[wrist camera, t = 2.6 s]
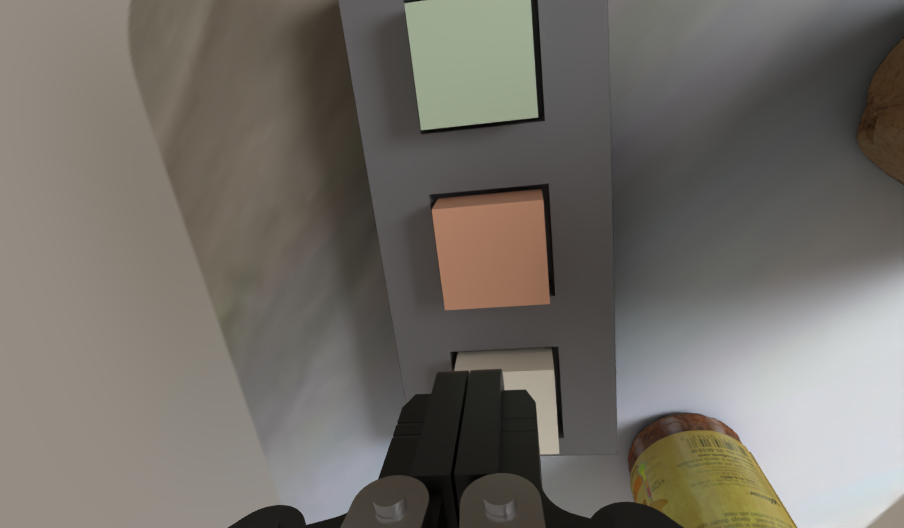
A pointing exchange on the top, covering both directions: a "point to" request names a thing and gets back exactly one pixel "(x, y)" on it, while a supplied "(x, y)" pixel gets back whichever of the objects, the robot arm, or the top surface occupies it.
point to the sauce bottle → (702, 476)
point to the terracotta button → (492, 250)
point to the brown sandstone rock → (885, 116)
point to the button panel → (495, 171)
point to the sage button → (472, 61)
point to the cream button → (524, 383)
